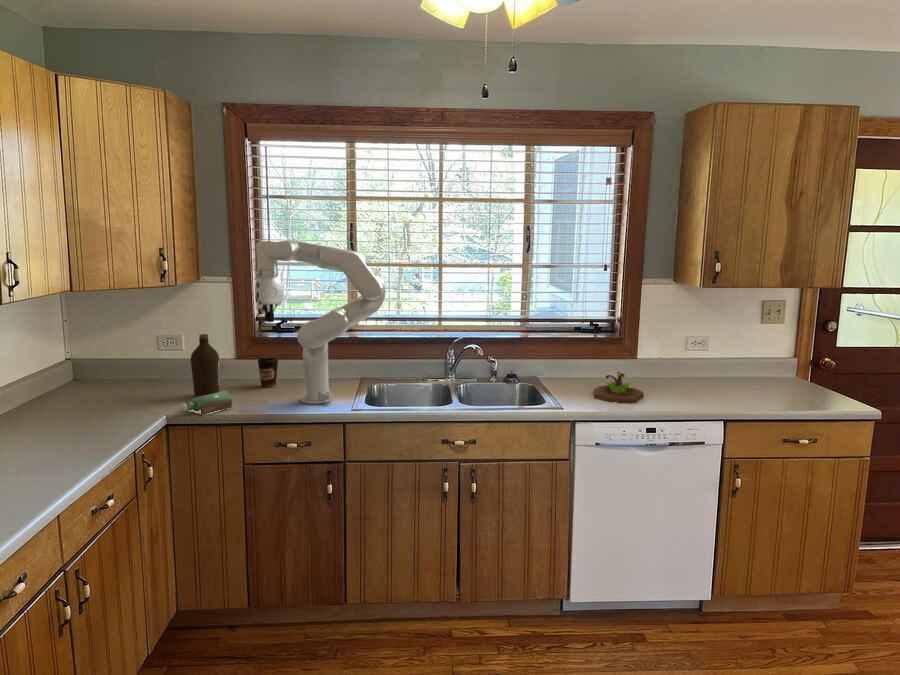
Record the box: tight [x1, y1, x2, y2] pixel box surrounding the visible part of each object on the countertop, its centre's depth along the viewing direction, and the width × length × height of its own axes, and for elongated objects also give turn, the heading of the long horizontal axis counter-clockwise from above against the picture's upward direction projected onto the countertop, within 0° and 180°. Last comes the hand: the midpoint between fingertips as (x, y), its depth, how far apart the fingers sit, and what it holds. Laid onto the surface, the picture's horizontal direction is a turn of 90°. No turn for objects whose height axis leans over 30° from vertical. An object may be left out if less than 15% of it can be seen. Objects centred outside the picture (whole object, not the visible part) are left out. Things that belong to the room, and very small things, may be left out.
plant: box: [592, 371, 645, 404], centre depth 260 cm, size 20×20×11 cm
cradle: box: [184, 398, 233, 415], centre depth 238 cm, size 11×12×4 cm
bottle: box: [179, 390, 231, 413], centre depth 237 cm, size 5×5×18 cm
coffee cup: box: [257, 354, 279, 388], centre depth 272 cm, size 9×8×13 cm
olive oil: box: [190, 333, 221, 397], centre depth 254 cm, size 11×11×25 cm
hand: (269, 321), depth 247 cm, fingers closed
